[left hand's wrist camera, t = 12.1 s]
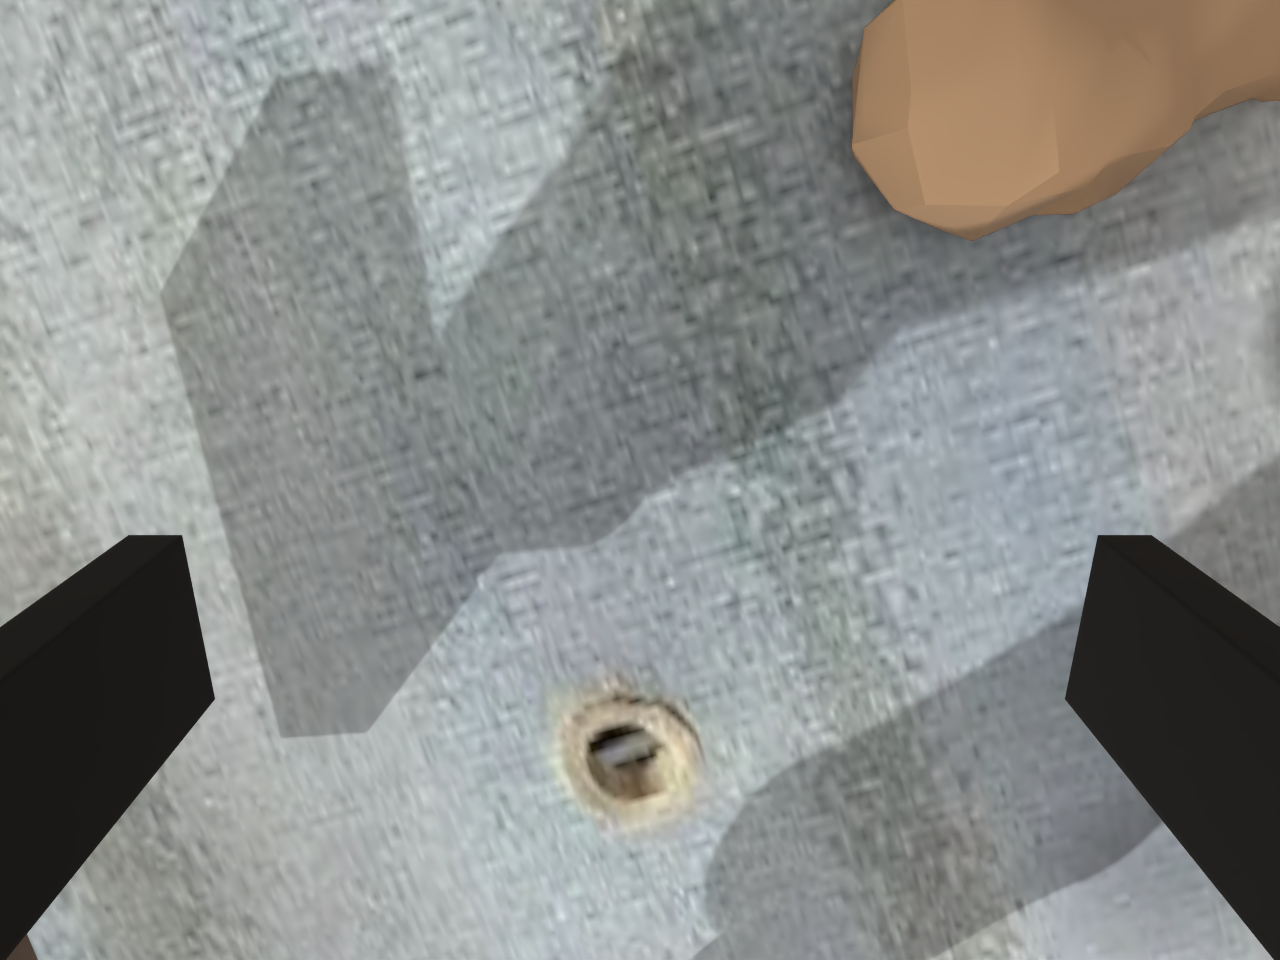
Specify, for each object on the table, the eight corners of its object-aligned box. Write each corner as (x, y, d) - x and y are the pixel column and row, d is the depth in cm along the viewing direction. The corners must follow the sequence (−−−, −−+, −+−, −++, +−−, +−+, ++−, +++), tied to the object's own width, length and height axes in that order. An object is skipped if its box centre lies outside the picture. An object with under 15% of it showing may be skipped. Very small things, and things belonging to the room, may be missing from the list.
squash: (790, 26, 36) (860, -79, 28) (1226, -91, 37) (1432, -230, 28) (847, 277, 38) (931, 253, 29) (1263, 160, 39) (1467, 103, 30)
